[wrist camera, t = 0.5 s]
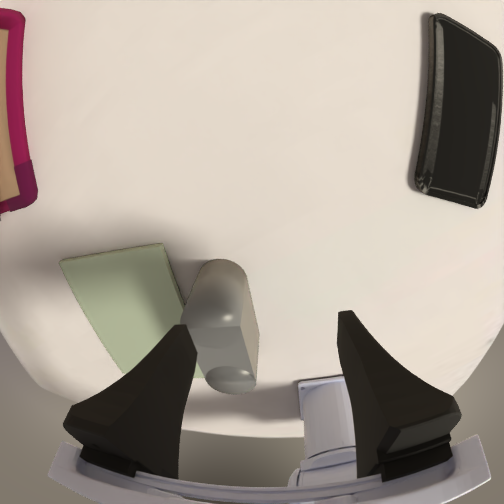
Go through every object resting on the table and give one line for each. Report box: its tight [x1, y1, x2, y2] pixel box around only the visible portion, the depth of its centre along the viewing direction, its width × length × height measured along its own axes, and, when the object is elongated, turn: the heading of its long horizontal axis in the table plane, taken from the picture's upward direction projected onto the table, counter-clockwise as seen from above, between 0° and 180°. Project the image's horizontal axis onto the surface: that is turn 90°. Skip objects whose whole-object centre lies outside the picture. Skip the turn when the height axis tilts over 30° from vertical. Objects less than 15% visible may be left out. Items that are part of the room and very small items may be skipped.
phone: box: [415, 13, 503, 209], centre depth 14 cm, size 8×1×15 cm
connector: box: [180, 259, 259, 395], centre depth 22 cm, size 12×4×6 cm, turn 10°
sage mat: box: [59, 243, 204, 378], centre depth 25 cm, size 16×12×1 cm
